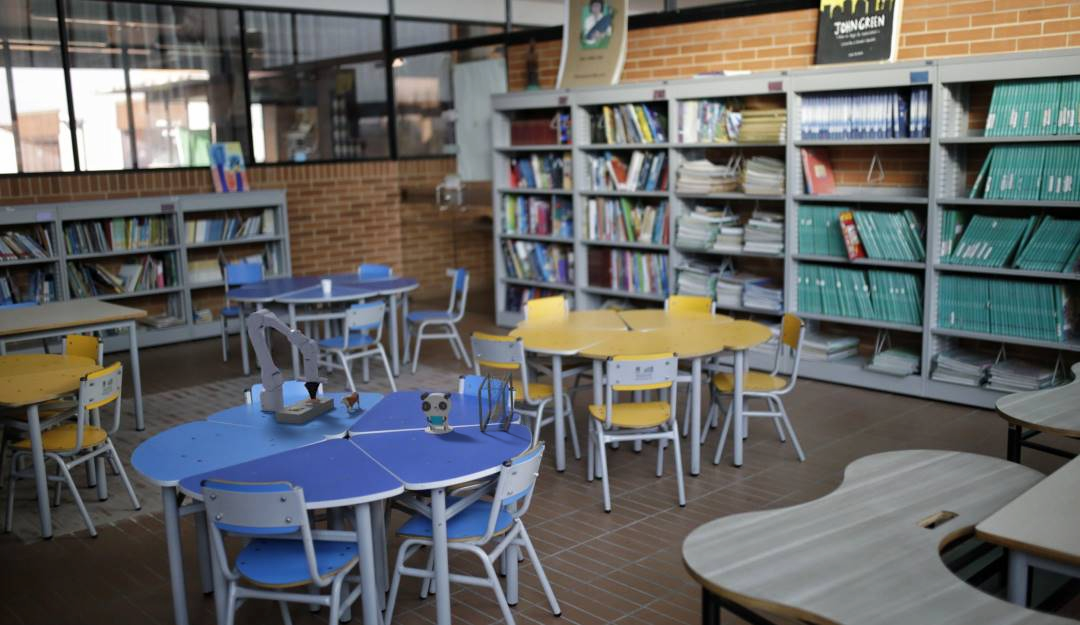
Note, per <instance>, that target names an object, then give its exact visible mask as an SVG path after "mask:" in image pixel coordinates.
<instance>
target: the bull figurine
mask: <svg viewBox="0 0 1080 625" xmlns="http://www.w3.org/2000/svg"><path fill="white" fill-rule="evenodd" d="M339 403H340V404H344V405H345V407H346V409H347V410H346V413H350V414H353V413H354V411H353V409H354V406H355V404H357V409H360V395H359V393H358V392H356V391H354V392H352V393H351V394H349V395H342V396H341V399H340V401H339Z"/></svg>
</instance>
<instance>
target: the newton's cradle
mask: <svg viewBox="0 0 1080 625" xmlns="http://www.w3.org/2000/svg"><path fill="white" fill-rule="evenodd" d="M499 374H504V375H502V378H495V377H493V375H499ZM506 374H507V377H506ZM505 377H506V378H505ZM494 379H495V380H496V379H500V382H499V385H498V386H499V387H495V386H496V385H495V383H494V382H495V381H494ZM504 379H505V381H504ZM485 383H486V384H485ZM508 383H509V396H510V398H509V399H510V410H506V393H505V392H506V389H507V386H508ZM484 385H485V387H484ZM513 386H514V385H513V372H512V371H509V372H490V371H487V372H486V373H485V376H484V378H483V379H482V381H481V383H480V385H479V387H478V389H477V390H478V394H477V396H478V414H479V416H478V417H479V418H478V419H479V430H480V432H484V431H504V432H507V430H508V427H509V426H510V422H511V419H512V416H513V413H514V391H513V390H514V389H513ZM483 387H484V388H483ZM482 390H487V394H488V395H487V398H488V399H487V400H488V401H487V402H488V412H487V414H486V417H485V418H484V420H483V408H482V407H483V406H482V403H483V402H482ZM496 390H498V393H497V392H496ZM496 393H497V394H496ZM501 397H502V398H501ZM493 400H494V401H493ZM507 413H509V415H508V417H507V415H506V414H507ZM501 414H502V422H503V423H502V424H503V426H502V427H503V428H494V429H492V428H489V429H488V428H487V429H485V427H486V425H487V422H488V420H490V421H491V422H493V423H498V421H499V420H500V417H501Z"/></svg>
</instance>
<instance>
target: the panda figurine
mask: <svg viewBox="0 0 1080 625" xmlns="http://www.w3.org/2000/svg"><path fill="white" fill-rule="evenodd" d="M451 397H452V393H450V392H447V393H443V392H432V393H429V392H428V391H426V392H424V393H422V394H421V395H420V400H421V401H422V403H421V410H422V411H423V413H424V414H425V415H426V416H427V417H426V421H427V422H428V424H429V426H427V427H425V428H424V432H425V433H427V434H430V435H441V434H443V435H444V434H447V433H450V432H453V430H454V427H453V426H452V425H449V415H448V414H449V413H450V412H451V409H452V401H451V399H450V398H451Z"/></svg>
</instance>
